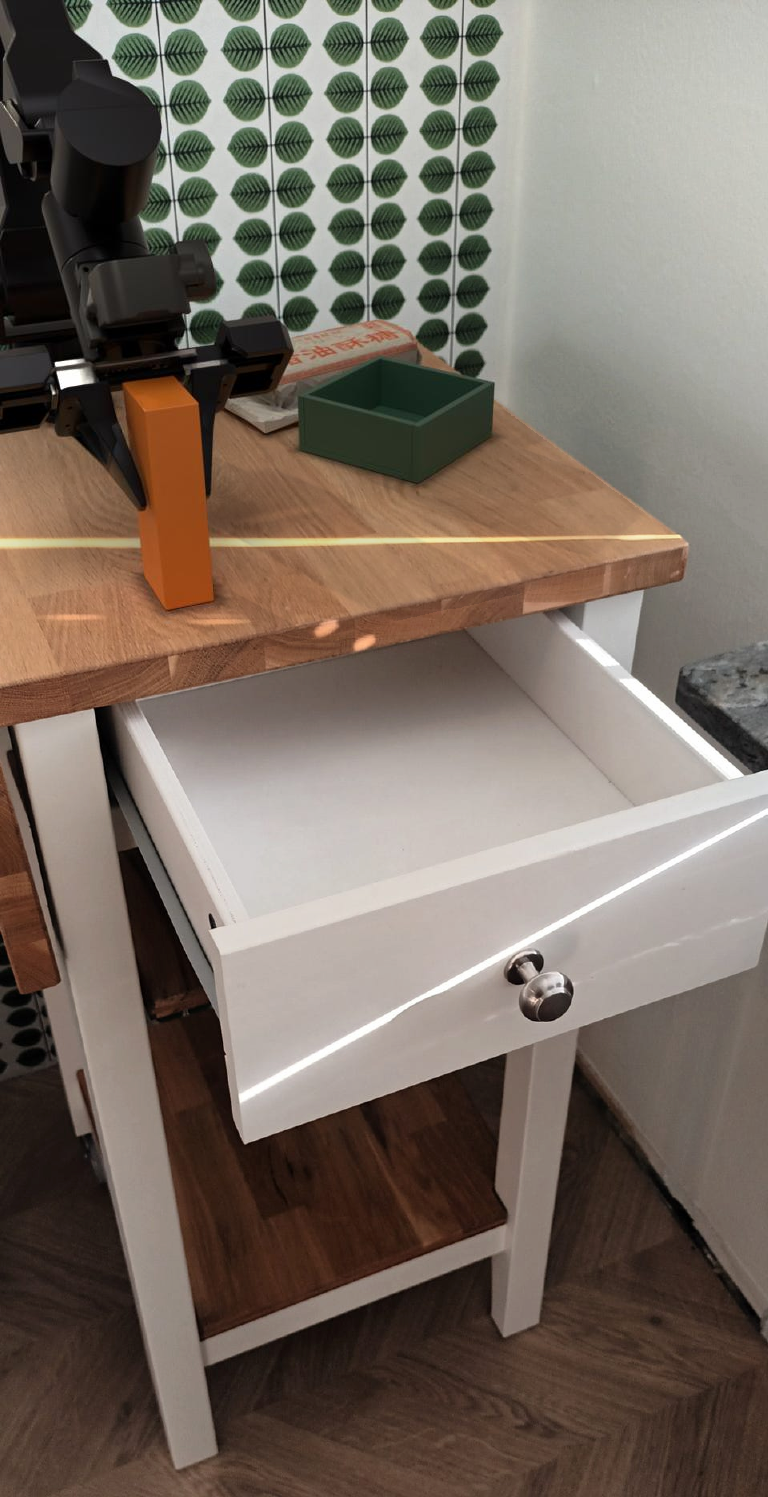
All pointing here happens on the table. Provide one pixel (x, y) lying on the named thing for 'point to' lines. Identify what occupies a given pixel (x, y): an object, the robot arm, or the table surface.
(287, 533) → the table surface
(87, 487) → the table surface
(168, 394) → the tall orange pillar
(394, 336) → the packaged product
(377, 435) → the green square open box
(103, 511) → the table surface
